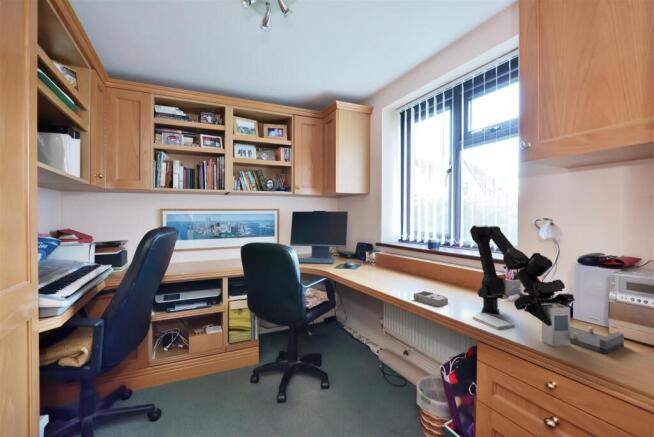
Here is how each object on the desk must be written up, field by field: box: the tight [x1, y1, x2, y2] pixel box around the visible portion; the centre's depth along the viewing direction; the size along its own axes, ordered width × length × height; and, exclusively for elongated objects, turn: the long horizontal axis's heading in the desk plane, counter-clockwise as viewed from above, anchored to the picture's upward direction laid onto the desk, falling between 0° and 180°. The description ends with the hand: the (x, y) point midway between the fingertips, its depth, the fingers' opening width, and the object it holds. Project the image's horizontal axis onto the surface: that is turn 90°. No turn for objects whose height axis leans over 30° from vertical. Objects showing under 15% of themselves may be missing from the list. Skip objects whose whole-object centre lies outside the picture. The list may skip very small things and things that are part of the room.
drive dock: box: [570, 325, 625, 355], centre depth 96 cm, size 16×12×4 cm
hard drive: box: [472, 314, 516, 331], centre depth 113 cm, size 2×8×12 cm
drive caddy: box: [541, 304, 571, 347], centre depth 94 cm, size 4×6×12 cm, turn 95°
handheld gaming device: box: [413, 290, 449, 307], centre depth 142 cm, size 9×15×4 cm, turn 34°
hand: (559, 325), depth 93 cm, fingers closed on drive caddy, 6 cm apart
